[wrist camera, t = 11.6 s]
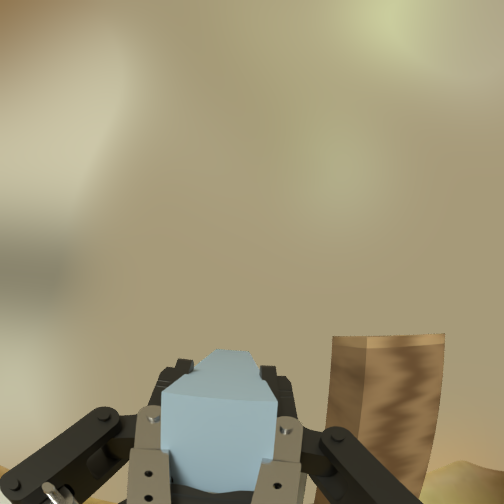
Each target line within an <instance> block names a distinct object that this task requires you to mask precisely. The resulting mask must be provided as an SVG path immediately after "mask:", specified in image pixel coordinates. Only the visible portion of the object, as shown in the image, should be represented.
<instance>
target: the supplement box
mask: <svg viewBox="0 0 504 504" xmlns="http://www.w3.org/2000/svg"><path fill="white" fill-rule="evenodd" d="M0 504H12V503H11V502H10V501H9V500H8V499H7V498H6V497H5V496H4V495H3V493H2V492H1V490H0Z"/></svg>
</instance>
